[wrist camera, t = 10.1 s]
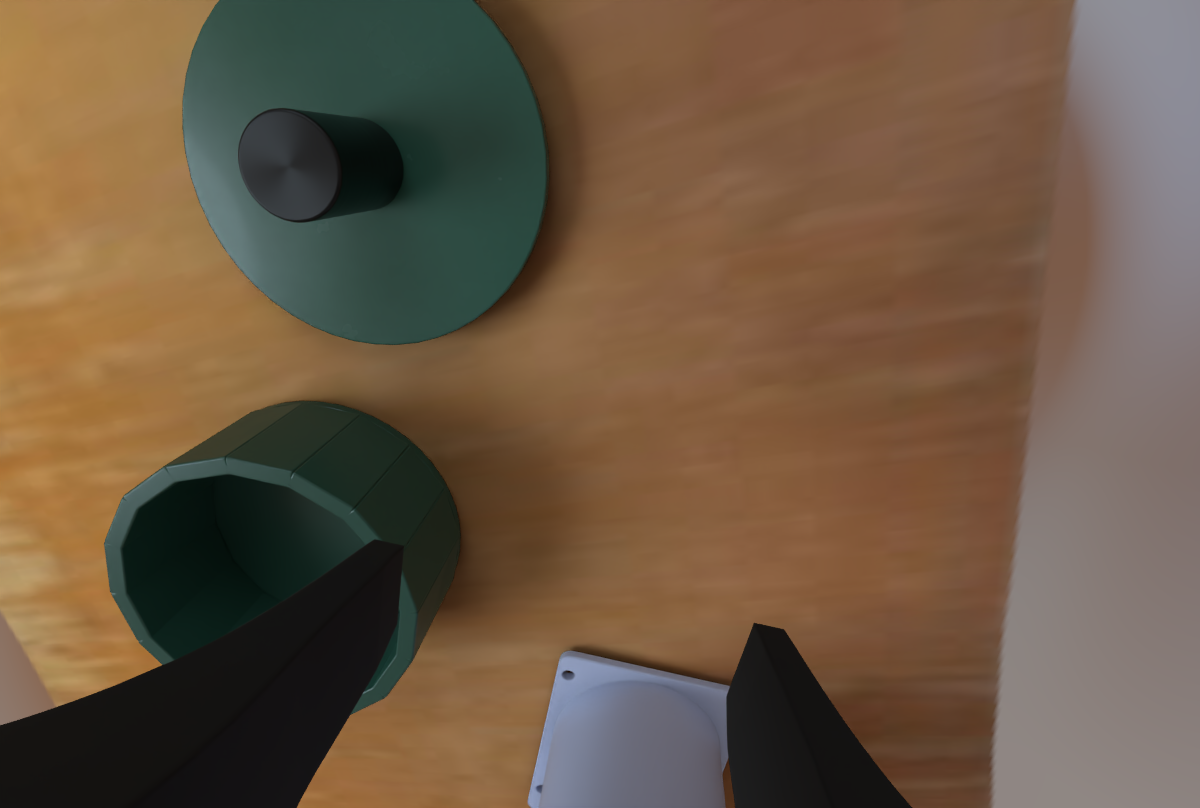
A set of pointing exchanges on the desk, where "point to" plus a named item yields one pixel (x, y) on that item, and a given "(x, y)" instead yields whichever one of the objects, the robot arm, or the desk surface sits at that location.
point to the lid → (367, 159)
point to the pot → (280, 529)
